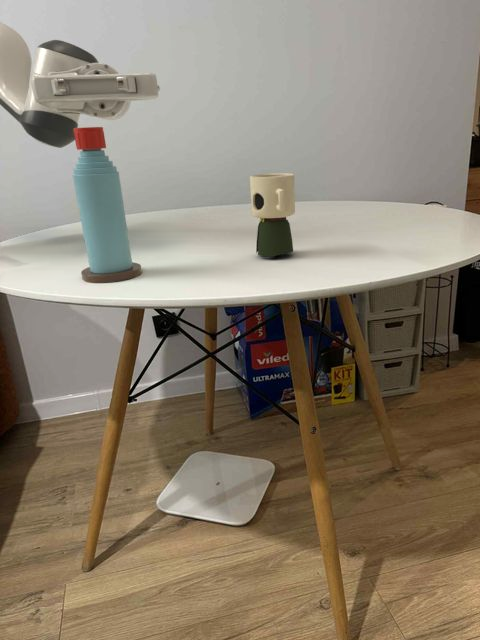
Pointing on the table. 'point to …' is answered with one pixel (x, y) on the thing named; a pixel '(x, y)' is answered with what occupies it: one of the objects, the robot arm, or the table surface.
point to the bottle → (102, 212)
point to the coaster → (111, 275)
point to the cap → (89, 138)
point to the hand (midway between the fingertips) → (91, 83)
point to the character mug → (273, 212)
